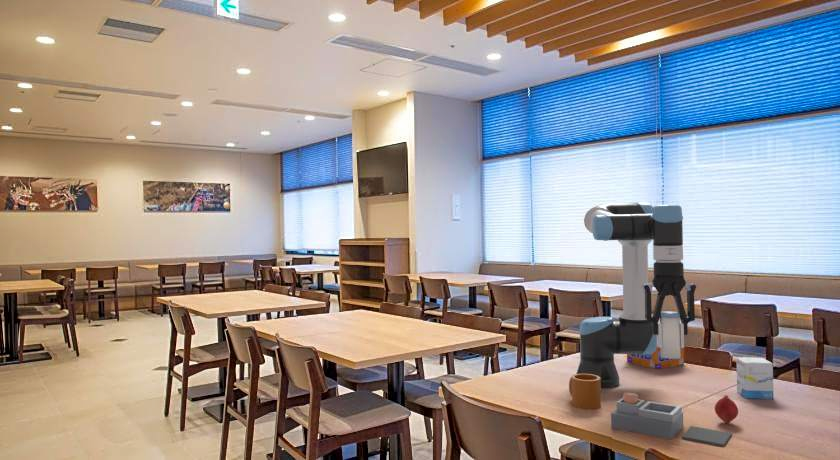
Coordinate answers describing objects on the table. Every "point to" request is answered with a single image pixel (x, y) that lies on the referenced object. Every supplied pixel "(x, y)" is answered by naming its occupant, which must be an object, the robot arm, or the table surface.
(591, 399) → the mug
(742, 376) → the ink box
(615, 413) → the box
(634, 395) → the salmon orange cube
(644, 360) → the game box
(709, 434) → the pad
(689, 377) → the table surface
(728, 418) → the onion
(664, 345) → the cylinder
